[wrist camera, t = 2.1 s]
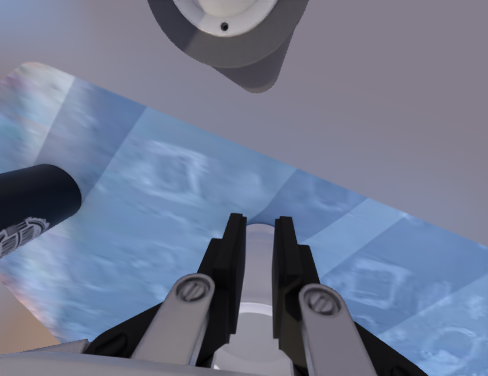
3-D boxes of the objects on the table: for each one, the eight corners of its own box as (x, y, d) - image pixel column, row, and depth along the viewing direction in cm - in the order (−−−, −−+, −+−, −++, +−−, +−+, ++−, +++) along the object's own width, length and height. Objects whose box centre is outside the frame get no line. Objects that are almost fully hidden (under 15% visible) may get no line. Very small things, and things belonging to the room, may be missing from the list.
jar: (215, 259, 35) (179, 362, 21) (240, 204, 31) (218, 284, 17) (277, 285, 35) (284, 403, 21) (309, 233, 32) (342, 335, 18)
